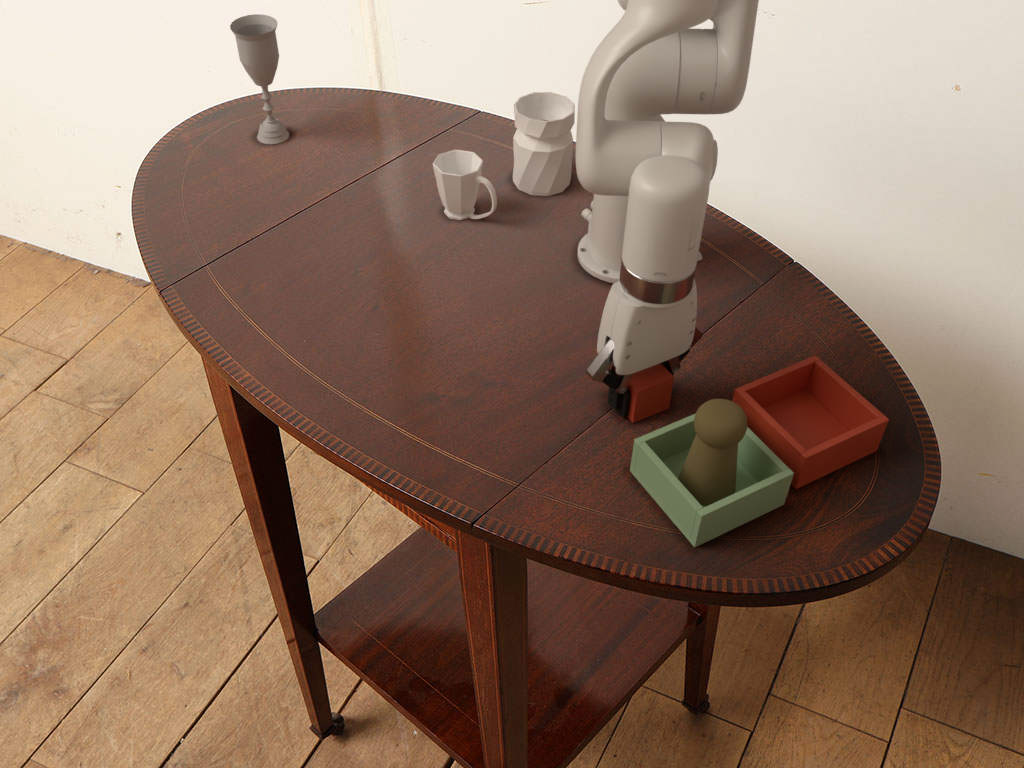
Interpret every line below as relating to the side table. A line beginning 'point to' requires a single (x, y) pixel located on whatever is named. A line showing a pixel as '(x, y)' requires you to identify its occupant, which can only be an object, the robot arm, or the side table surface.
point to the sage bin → (658, 473)
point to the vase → (543, 143)
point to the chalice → (261, 66)
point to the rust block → (649, 392)
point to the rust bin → (811, 419)
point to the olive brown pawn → (714, 451)
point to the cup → (461, 183)
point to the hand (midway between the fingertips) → (638, 399)
